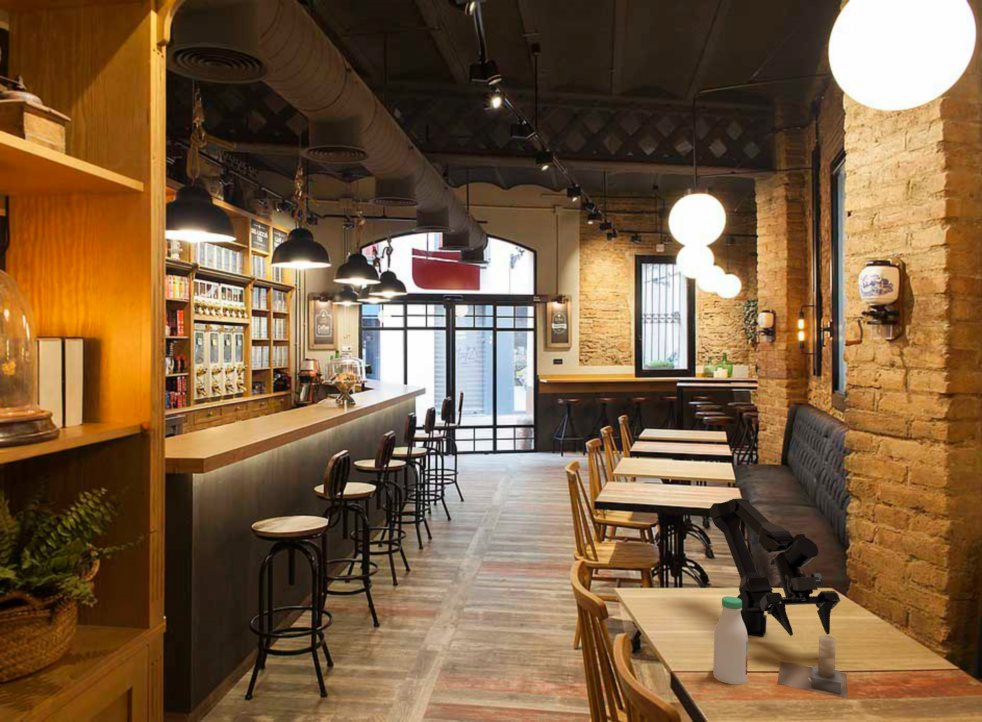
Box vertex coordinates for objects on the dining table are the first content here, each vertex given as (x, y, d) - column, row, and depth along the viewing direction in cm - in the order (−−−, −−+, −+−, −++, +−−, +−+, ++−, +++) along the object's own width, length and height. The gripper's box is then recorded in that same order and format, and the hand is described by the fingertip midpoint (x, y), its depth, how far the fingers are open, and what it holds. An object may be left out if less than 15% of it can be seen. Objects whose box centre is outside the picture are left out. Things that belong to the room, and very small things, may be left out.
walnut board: (777, 689, 169) (777, 684, 169) (780, 666, 181) (780, 661, 181) (848, 703, 162) (848, 698, 162) (846, 678, 175) (846, 673, 175)
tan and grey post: (812, 688, 167) (813, 641, 167) (812, 676, 173) (813, 630, 173) (840, 693, 164) (841, 646, 164) (839, 681, 171) (841, 635, 171)
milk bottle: (742, 692, 167) (744, 606, 167) (709, 683, 171) (711, 600, 171) (750, 679, 173) (752, 597, 173) (717, 671, 177) (719, 591, 177)
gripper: (764, 562, 181) (783, 623, 171) (837, 560, 182) (860, 621, 172) (752, 580, 190) (769, 640, 180) (821, 578, 190) (842, 638, 180)
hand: (810, 634), depth 178 cm, fingers open, 9 cm apart
